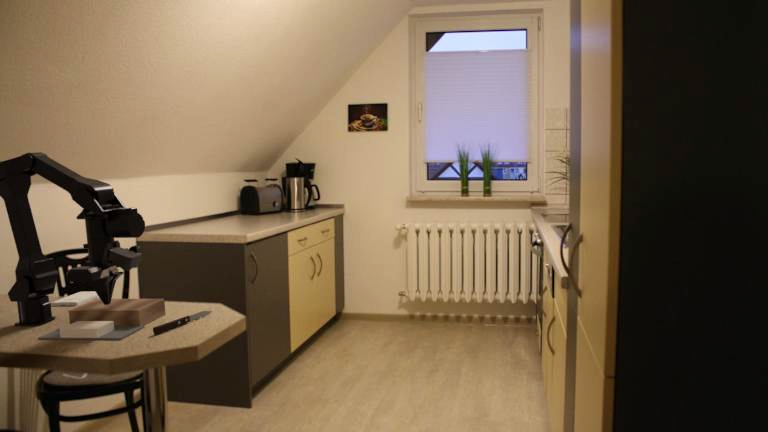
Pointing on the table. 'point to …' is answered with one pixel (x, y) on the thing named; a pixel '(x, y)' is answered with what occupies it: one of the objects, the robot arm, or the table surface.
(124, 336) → the mat
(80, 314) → the brown wooden block
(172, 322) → the kitchen knife
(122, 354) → the table surface
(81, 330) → the tile
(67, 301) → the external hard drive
